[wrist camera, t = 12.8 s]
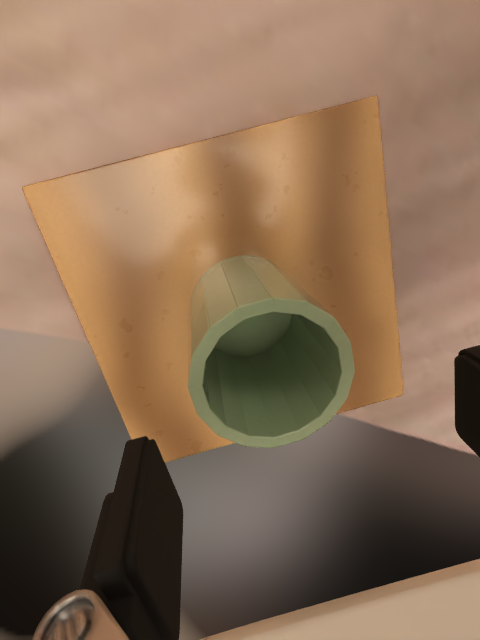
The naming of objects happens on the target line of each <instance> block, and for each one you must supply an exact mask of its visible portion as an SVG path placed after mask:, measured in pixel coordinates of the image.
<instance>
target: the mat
mask: <svg viewBox="0 0 480 640" xmlns="http://www.w3.org/2000/svg"><path fill="white" fill-rule="evenodd" d="M22 190H23V192H24V195H25V197H26V199H27V201H28V204H29V206H30V208H31V211H32V213H33V215H34V217H35V220H36V222H37V224H38V227H39V229H40V231H41V233H42V236H43V238H44V240H45V243H46V245H47V247H48V249H49V252H50V254H51V256H52V259H53V261H54V263H55V265H56V268H57V270H58V272H59V275H60V277H61V279H62V281H63V284H64V286H65V288H66V291H67V293H68V295H69V297H70V300H71V302H72V304H73V307H74V309H75V311H76V313H77V316H78V318H79V320H80V323H81V325H82V327H83V329H84V332H85V334H86V336H87V339H88V341H89V343H90V345H91V348H92V350H93V352H94V355H95V357H96V359H97V361H98V364H99V366H100V368H101V370H102V373H103V375H104V377H105V380H106V382H107V384H108V387H109V388H110V391H111V393H112V395H113V398H114V400H115V402H116V405H117V407H118V409H119V412H120V414H121V416H122V418H123V420H124V423H125V425H126V427H127V430H128V432H129V434H130V437H131V439H136V438H140V437H143V436H147V437H148V439H149V440H151V439H154V440H155V441H156V443H157V446H158V448H159V450H160V453H161V455H162V458H163V460H164V462H169V461H172V460H176V459H179V458H183V457H186V456H190V455H193V454H197V453H200V452H204V451H207V450H211V449H214V448H218V447H222V446H225V445H228V444H232V443H235V442H232V441H230V440H228V439H225V438H223V437H221V436H218V434H216V433H215V432H214V431H213V430H212V429H211V428H210V427H209V426H208V425H207V424H206V423H205V422H204V421H203V420H202V419H201V418H200V417H199V416H198V414H197V413H196V410H195V407H194V404H193V401H192V398H191V396H190V393H189V390H188V316H189V304H190V298H191V295H192V292H193V289H194V287H195V285H196V283H197V282H198V280H199V279H200V277H201V276H202V275H203V274H204V273H205V272H206V271H207V270H208V269H209V268H210V267H212V266H213V265H215V264H216V263H218V262H220V261H222V260H224V259H227V258H230V257H234V256H241V255H251V256H258V257H262V258H265V259H268V260H270V261H272V262H273V263H275V264H276V265H278V266H279V267H281V268H282V269H283V270H285V271H286V272H287V273H288V274H289V275H290V276H291V277H292V278H294V279H295V280H296V281H297V282H298V283H299V284H300V285H301V286H302V287H303V288H304V289H305V290H306V291H307V292H308V293H309V294H310V295H311V296H312V297H313V298H314V299H315V300H317V301H318V302H319V303H320V304H321V305H322V306H323V307H324V308H325V309H326V310H327V311H328V312H329V313H330V314H331V315H332V316H333V317H334V318H335V319H336V320H337V322H338V323H339V325H340V326H341V328H342V329H343V331H344V332H345V334H346V335H347V337H348V338H349V340H350V342H351V346H352V353H353V360H354V367H355V373H354V376H353V380H352V383H351V387H350V390H349V394H348V397H347V399H346V401H345V402H344V403H343V405H342V406H341V407H340V409H339V410H338V411H337V413H336V414H338V413H341V412H345V411H348V410H352V409H356V408H359V407H363V406H366V405H370V404H373V403H377V402H380V401H384V400H387V399H391V398H394V397H398V396H401V395H404V392H403V381H402V369H401V358H400V346H399V335H398V323H397V312H396V300H395V289H394V277H393V266H392V254H391V243H390V231H389V220H388V208H387V197H386V185H385V174H384V162H383V151H382V140H381V128H380V117H379V105H378V96H373V97H369V98H365V99H361V100H357V101H353V102H350V103H346V104H342V105H338V106H334V107H330V108H326V109H322V110H319V111H315V112H311V113H307V114H303V115H299V116H295V117H291V118H287V119H284V120H280V121H276V122H272V123H268V124H264V125H260V126H256V127H253V128H249V129H245V130H241V131H237V132H233V133H229V134H225V135H221V136H218V137H214V138H210V139H206V140H202V141H198V142H194V143H190V144H187V145H183V146H179V147H175V148H171V149H167V150H163V151H159V152H155V153H152V154H148V155H144V156H140V157H136V158H132V159H128V160H124V161H121V162H117V163H113V164H109V165H105V166H101V167H97V168H93V169H89V170H86V171H82V172H78V173H74V174H70V175H66V176H62V177H58V178H55V179H51V180H47V181H43V182H39V183H35V184H31V185H27V186H23V187H22Z"/></svg>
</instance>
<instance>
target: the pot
mask: <svg viewBox="0 0 480 640" xmlns="http://www.w3.org/2000/svg"><path fill="white" fill-rule="evenodd" d="M354 373H355V367H354V360H353V353H352V346H351V342H350V340H349V338H348V337H347V335H346V334H345V332H344V331H343V329H342V328H341V326H340V325H339V323H338V322H337V320H336V319H335V318H334V317H333V316H332V315H331V314H330V313H329V312H328V311H327V310H326V309H325V308H324V307H323V306H322V305H321V304H320V303H319V302H318V301H317V300H315V299H314V298H313V297H312V296H311V295H310V294H309V293H308V292H307V291H306V290H305V289H304V288H303V287H302V286H301V285H300V284H299V283H298V282H297V281H296V280H295V279H294V278H292V277H291V276H290V275H289V274H288V273H287V272H286V271H285V270H283V269H282V268H281V267H279V266H278V265H276V264H275V263H273V262H272V261H270V260H268V259H265V258H262V257H258V256H251V255H241V256H234V257H230V258H227V259H224V260H222V261H220V262H218V263H216V264H215V265H213V266H212V267H210V268H209V269H208V270H207V271H206V272H205V273H204V274H203V275H202V276H201V277H200V279H199V280H198V282H197V283H196V285H195V287H194V289H193V292H192V295H191V298H190V304H189V316H188V390H189V393H190V396H191V398H192V401H193V404H194V407H195V410H196V413H197V414H198V416H199V417H200V418H201V419H202V420H203V421H204V422H205V423H206V424H207V425H208V426H209V427H210V428H211V429H212V430H213V431H214V432H215V433H216V434H218V436H221V437H223V438H225V439H228V440H230V441H232V442H235V443H237V444H240V445H242V446H245V447H265V448H274V447H279V446H282V445H285V444H289V443H292V442H296V441H299V440H302V439H305V438H306V437H308V436H309V435H311V434H312V433H314V432H315V431H317V430H318V429H320V428H321V427H323V426H324V425H326V424H327V423H328V422H330V421H331V419H332V418H333V417H334V415H335V414H336V413H337V411H338V410H339V409H340V407H341V406H342V405H343V403H344V402H345V401H346V399H347V397H348V394H349V390H350V387H351V383H352V380H353V376H354Z"/></svg>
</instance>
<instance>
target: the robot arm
mask: <svg viewBox="0 0 480 640" xmlns="http://www.w3.org/2000/svg"><path fill="white" fill-rule="evenodd" d="M454 364H455V428H456V431H457V433H458V435H459V436H460V438H461V439H462V440H463V441H464V442H465V443H466V444H467V445H468V446H469V447H470V448H471V449H472V450H473V451H474V452H475V453H476V454H477V455H478V456H479V457H480V345H478V346H475V347H471V348H467V349H464V350H461V351H460V352H459V355H458V356H457V357H456V358H455V361H454ZM182 534H183V508H182V503H181V500H180V498H179V496H178V493H177V491H176V489H175V486H174V484H173V482H172V479H171V477H170V474H169V472H168V469H167V467H166V465H165V462H164V460H163V458H162V455H161V453H160V450H159V448H158V446H157V443H156V441H155V440H154V439H151V440H149V439H148V437H147V436H143V437H140V438H136V439H132V440H129V441H127V442H126V445H125V449H124V453H123V457H122V461H121V465H120V469H119V473H118V477H117V481H116V485H115V489H114V492H113V493H109V494H107V495H106V497H105V500H104V502H103V506H102V509H101V513H100V517H99V520H98V524H97V528H96V532H95V535H94V539H93V543H92V546H91V550H90V554H89V557H88V561H87V565H86V568H85V572H84V576H83V580H82V583H81V587H80V590H78V591H74V592H72V593H70V594H68V595H66V596H64V597H63V598H62V599H60V600H59V601H58V602H57V603H55V604H54V605H53V606H52V608H51V609H50V610H49V611H48V612H47V613H46V614H45V616H44V617H43V619H42V620H41V622H40V624H39V625H38V627H37V629H36V632H35V634H34V637H33V640H179V630H180V597H181V565H182ZM199 640H480V559H478V560H474V561H471V562H467V563H463V564H459V565H456V566H453V567H449V568H445V569H441V570H438V571H435V572H431V573H427V574H424V575H420V576H416V577H413V578H409V579H406V580H402V581H399V582H395V583H392V584H388V585H384V586H381V587H377V588H374V589H370V590H367V591H363V592H359V593H356V594H352V595H349V596H345V597H342V598H338V599H335V600H331V601H328V602H324V603H321V604H317V605H314V606H311V607H307V608H303V609H300V610H296V611H293V612H289V613H286V614H283V615H279V616H275V617H272V618H268V619H265V620H261V621H258V622H255V623H251V624H248V625H245V626H242V627H238V628H235V629H232V630H228V631H225V632H222V633H219V634H215V635H212V636H209V637H206V638H203V639H199Z"/></svg>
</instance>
